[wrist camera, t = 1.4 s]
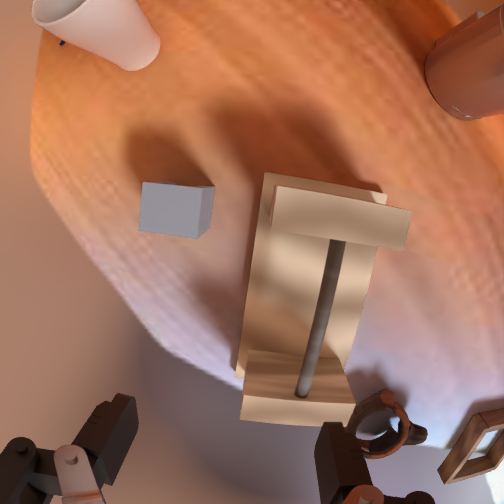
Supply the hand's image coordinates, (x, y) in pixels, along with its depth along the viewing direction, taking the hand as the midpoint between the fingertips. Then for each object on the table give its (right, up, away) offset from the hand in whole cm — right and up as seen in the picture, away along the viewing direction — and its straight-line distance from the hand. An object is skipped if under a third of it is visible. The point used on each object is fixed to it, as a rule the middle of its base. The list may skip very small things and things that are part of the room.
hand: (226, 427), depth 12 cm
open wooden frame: (+43, -27, +26) cm, 56 cm away
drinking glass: (-11, +29, +15) cm, 34 cm away
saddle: (-5, +12, +19) cm, 23 cm away
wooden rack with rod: (+7, +3, +20) cm, 22 cm away
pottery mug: (+18, -15, +24) cm, 34 cm away
